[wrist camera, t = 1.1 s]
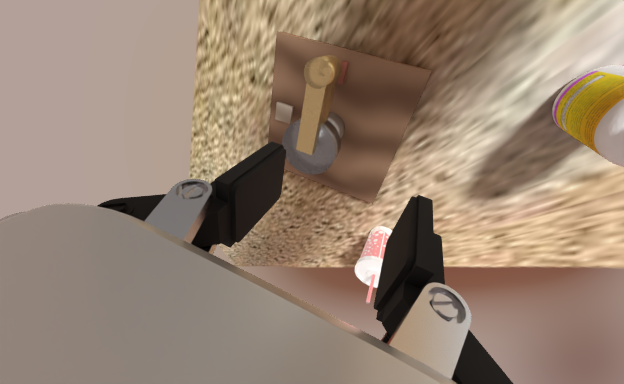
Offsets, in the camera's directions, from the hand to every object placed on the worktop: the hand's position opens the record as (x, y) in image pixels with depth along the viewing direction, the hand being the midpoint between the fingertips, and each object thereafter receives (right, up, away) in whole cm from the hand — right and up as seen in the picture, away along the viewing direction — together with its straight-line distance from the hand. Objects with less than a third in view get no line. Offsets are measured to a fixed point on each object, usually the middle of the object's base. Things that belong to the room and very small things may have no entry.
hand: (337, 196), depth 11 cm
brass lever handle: (0, +9, +17) cm, 20 cm away
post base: (+2, +10, +25) cm, 27 cm away
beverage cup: (+12, -8, +33) cm, 36 cm away
